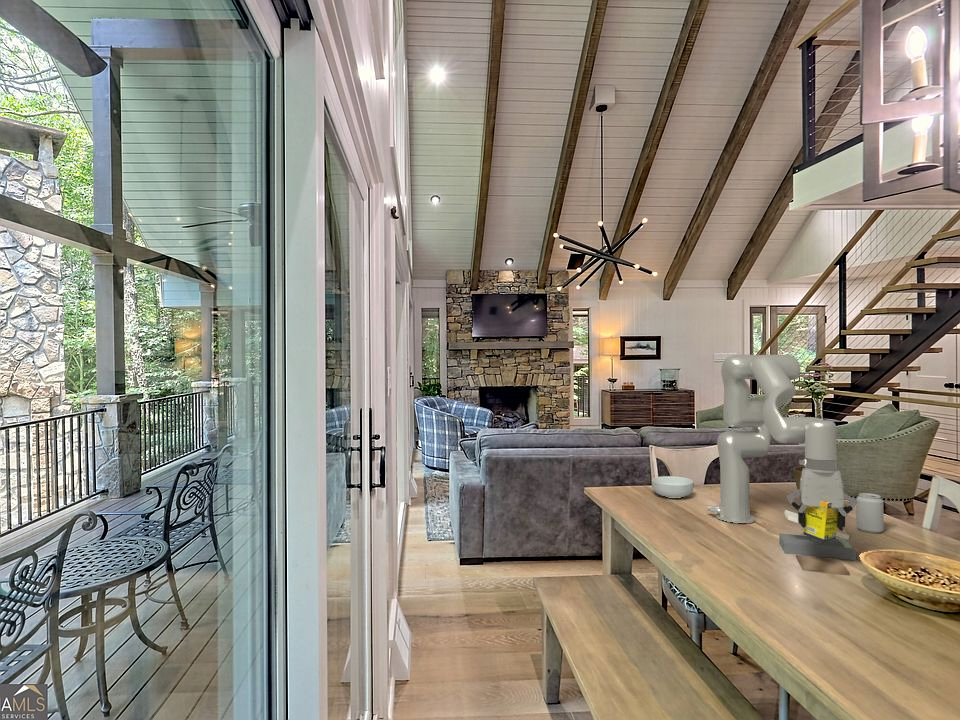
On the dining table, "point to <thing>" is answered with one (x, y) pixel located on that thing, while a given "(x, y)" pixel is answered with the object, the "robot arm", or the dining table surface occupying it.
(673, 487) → the cereal bowl
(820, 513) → the supplement box
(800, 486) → the robot arm
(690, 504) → the dining table surface
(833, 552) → the grey pedestal base
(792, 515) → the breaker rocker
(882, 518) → the can
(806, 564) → the pad
